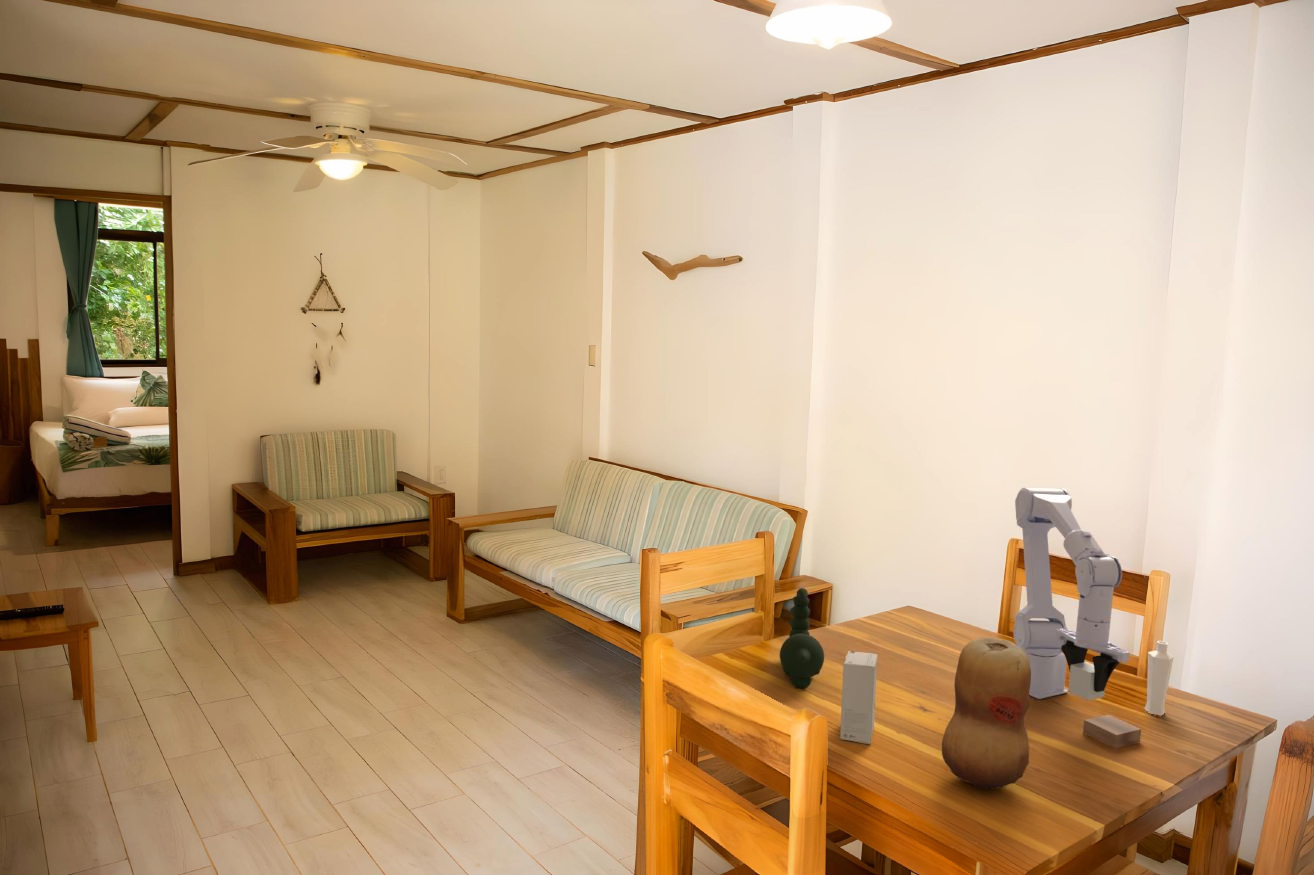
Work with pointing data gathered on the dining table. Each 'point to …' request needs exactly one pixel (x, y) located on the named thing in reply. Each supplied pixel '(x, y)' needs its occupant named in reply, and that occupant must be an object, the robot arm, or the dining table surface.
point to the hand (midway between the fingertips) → (1087, 685)
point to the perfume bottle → (1158, 678)
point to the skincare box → (858, 697)
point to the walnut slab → (1112, 731)
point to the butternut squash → (989, 714)
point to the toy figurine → (801, 645)
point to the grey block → (1083, 681)
